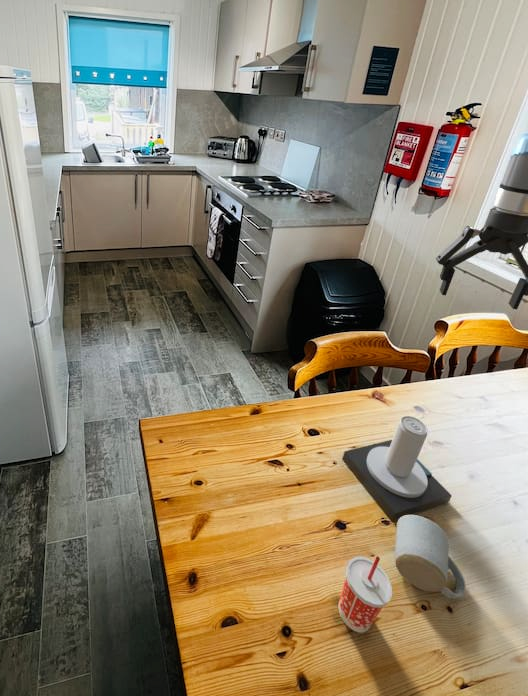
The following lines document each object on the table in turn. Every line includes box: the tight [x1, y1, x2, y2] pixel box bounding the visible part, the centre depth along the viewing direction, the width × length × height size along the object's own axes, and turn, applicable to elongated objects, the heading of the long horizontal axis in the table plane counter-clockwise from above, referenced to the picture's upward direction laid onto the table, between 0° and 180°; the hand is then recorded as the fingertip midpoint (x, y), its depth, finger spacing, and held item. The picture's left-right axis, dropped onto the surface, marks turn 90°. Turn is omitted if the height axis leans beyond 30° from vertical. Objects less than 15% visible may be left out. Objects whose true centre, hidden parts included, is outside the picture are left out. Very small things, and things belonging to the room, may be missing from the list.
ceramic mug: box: [394, 514, 467, 600], centre depth 65 cm, size 11×8×8 cm
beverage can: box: [385, 415, 429, 477], centre depth 79 cm, size 5×5×12 cm
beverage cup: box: [337, 556, 393, 634], centre depth 58 cm, size 6×6×14 cm
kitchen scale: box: [341, 439, 452, 522], centre depth 82 cm, size 14×14×3 cm
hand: (476, 299), depth 91 cm, fingers open, 13 cm apart
